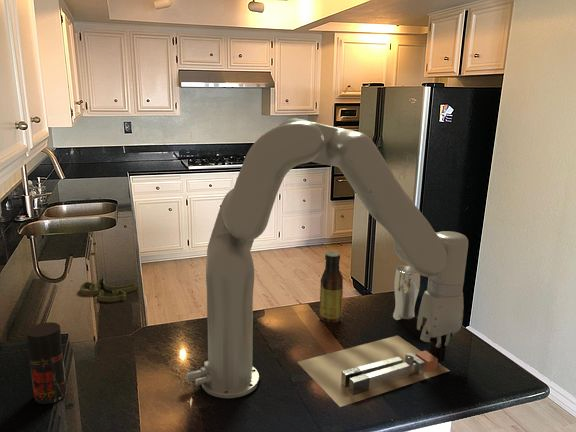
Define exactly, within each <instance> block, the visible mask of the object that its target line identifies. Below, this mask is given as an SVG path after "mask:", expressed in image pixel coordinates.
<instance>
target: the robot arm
mask: <svg viewBox="0 0 576 432" xmlns="http://www.w3.org/2000/svg"><path fill="white" fill-rule="evenodd" d="M308 163H316V164H320V165H326V166H333V167H337V168H339V170H340V172H341V173H342V174H343V176H344V177H345V180H347V182H348V183H349V185H350V186H351V188H352V189H353V191H354V192H355V194H356V196H357V197H358V199H359V200H360V202H361V203H362V205H363V207H364V208H365V209H366V210H367V212H368V213H369V214H370V215H371V217H372V218H373V219H374V220H375V221H376V222H377V223H378V224H379V225H380V226H382V227H383V228H384V229H385V230H386V231H387V232H388V233H389V235H390V236H391V237H392V238H393V239H394V242H393V250H394V253H395V254H396V256H397V257H398V258H399V259H400V260H401V261H402V262H403V263H405V265H408V266H410V267H411V268H412V269H413V270H414V271H415V272H416V273H418V274H420V276H421V277H427V279H428V280H427V286H426V287H427V288H426V290H424V292H423V295H422V298H421V302H420V305H419V309H418V315H417V320H416V321H417V322H416V329H417V330H418V331H421V334H420V338H419V339H420V340H421V341H423V342H424V343H430V347H429V348H430V349H429V353H430V354H432V355H433V356H435V357H436V358H438V363H439V364H440V363H443V362H445V358H446V349H447V346H448V345H449V342H450V339H451V337H452V336H454V335H455V334H458V332H459V331H460V330H461V329H462V325H463V320H464V308H465V307H464V306H465V305H464V292H463V291H464V290H463V289H464V284H465V273H466V267H467V258H468V249H469V239H468V237H467V236H466V235H465V234H463V233H460V232H457V231H451V230H450V231H449V230H447V231H446V230H445V231H444V230H443V231H438V232H436V231H435V229H434V228H433V226H432V225H431V223H430V222H429V221H428V219H427V218H426V217H425V216H424V215H423V213H422V212H421V210H419V208H418V207H417V205H416V204H415V202H413V199H411V198H410V196H409V195H408V193H406V191H405V190H404V189H403V187H402V185H401V184H400V183H399V181H398V180H397V178H396V176H395V175H394V173H393V172H392V170H391V167H390V166H389V165H388V164H387V161H386V160H385V158H384V157H383V155H382V154H381V152H380V151H379V149H378V147H377V145H376V144H375V142H374V141H373V140H372V139H371V138H370V136H368V135H367V134H365V133H363V132H360V131H358V130H357V131H356V130H352V129H347V128H341V127H337V126H332V125H326V124H322V123H319V122H314V121H309V120H307V119H301V118H296V117H295V118H288V119H286V120H284V121H282V122H281V123H280V124H279V125H278V126H275V127H273V128H272V129H269V131H267V132H266V133H264V134H262V135H261V136H260V137H259V138H258V139H257V140H256V141H254V143H253V144H252V145H251V147H250V148H249V150H248V152H247V153H246V155H245V157H244V160H243V163H242V165H241V167H240V171H239V173H238V176H237V178H236V181H235V183H234V186H233V188H232V189H230V190H229V191H228V192H227V193H226V194H225V196H224V197H223V199H222V202H221V204H220V207H219V210H218V213H217V216H216V218H215V222H214V225H213V229H212V232H211V234H210V238H209V241H208V244H207V247H206V248H207V249H206V265H205V266H206V267H205V281H206V282H205V283H206V319H207V360H206V361H204V362H203V366H202V367H200V368H199V369H197V370H192V371H187V372H185V379H186V381H187V382H188V383H189V382H193V381H194V382H195V386H200V385H201V388H202V390H204V391H205V392H206V394H208V395H210V396H213V397H215V398H220V399H236V398H240V397H244V396H247V395H248V394H250V393H252V392H253V391H254V390H256V388H258V385H259V383H260V373H259V372H258V370H257V369H256V367H254V366H253V350H254V349H253V348H254V347H253V343H254V342H253V335H254V333H253V331H254V328H253V325H254V324H253V323H254V322H253V321H254V318H253V317H254V315H253V314H254V313H253V311H254V307H253V305H254V303H253V302H254V286H255V265H254V258H253V255H252V252H251V251H252V247H253V244H254V240H256V239H258V237H260V236H261V235H262V234H263V233H264V232H265V230H266V228H267V226H268V224H269V222H270V221H269V220H270V217H271V213H272V211H273V208H274V203H275V202H276V201H275V200H276V198H277V195H278V192H279V190H280V187H281V185H282V183H283V181H284V179H285V177H286V175H287V174H288V173H289V172H290V170H292V169H293V168H295V167H296V166H299V165H304V164H308ZM254 370H255V371H254Z"/></svg>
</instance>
